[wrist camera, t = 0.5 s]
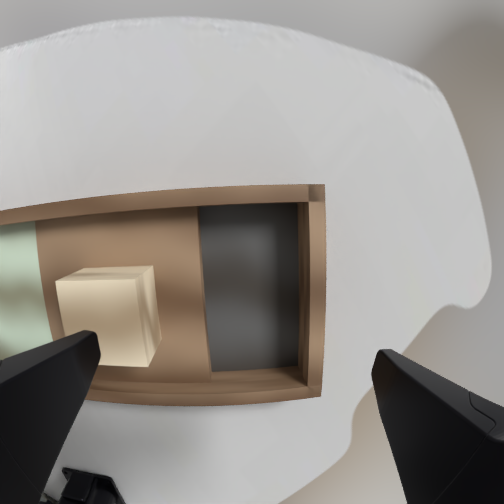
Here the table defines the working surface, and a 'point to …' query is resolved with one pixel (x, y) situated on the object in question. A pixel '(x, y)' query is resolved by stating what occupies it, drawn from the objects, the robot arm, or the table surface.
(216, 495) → the table surface
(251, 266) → the tray
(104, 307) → the beech block
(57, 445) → the robot arm
